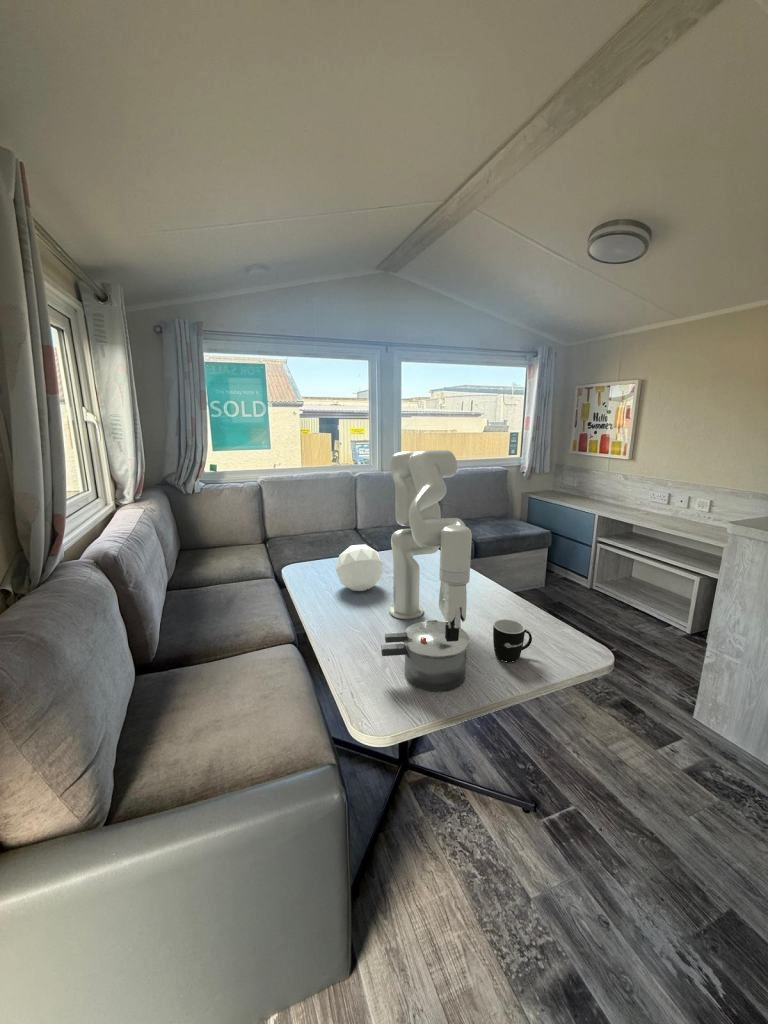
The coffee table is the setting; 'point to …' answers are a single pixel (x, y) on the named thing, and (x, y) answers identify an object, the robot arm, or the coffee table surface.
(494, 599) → the coffee table surface
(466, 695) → the coffee table surface
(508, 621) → the mug
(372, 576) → the geometric polyhedron
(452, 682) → the pot
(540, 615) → the coffee table surface
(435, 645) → the lid
